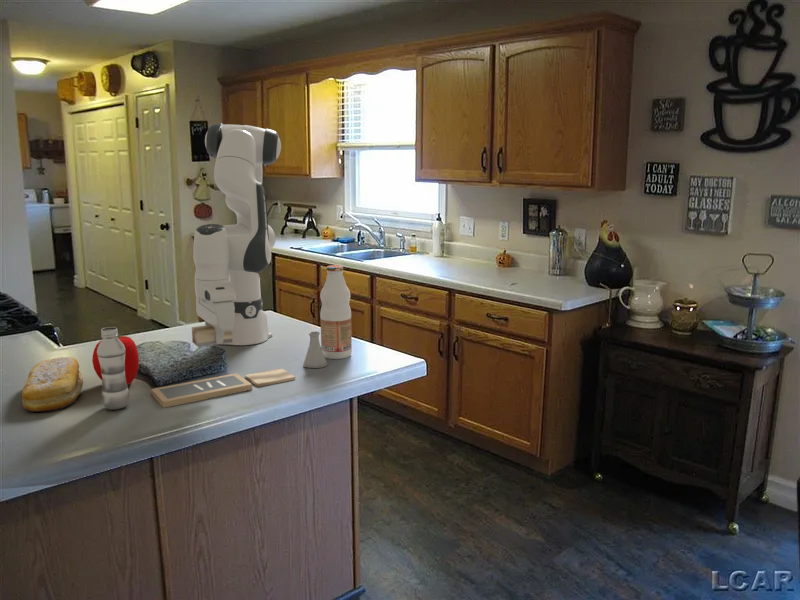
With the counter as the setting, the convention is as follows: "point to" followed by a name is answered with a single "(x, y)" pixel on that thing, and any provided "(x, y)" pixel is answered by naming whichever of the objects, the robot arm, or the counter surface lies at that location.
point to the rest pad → (269, 377)
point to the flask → (314, 353)
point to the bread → (52, 385)
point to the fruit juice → (335, 315)
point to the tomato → (130, 359)
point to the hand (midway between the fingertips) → (215, 339)
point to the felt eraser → (208, 336)
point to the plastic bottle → (113, 370)
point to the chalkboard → (200, 389)
